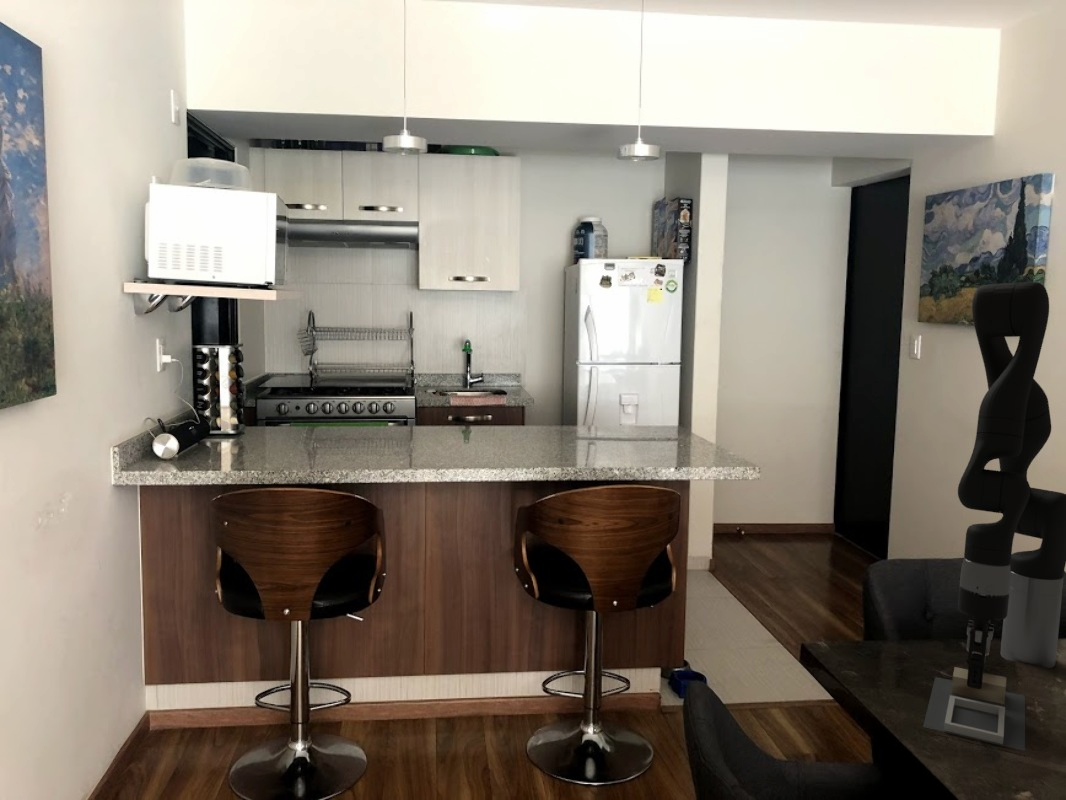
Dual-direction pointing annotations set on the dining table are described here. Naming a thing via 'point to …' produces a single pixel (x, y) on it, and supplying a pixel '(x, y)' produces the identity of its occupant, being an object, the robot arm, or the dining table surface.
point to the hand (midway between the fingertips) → (975, 678)
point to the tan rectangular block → (990, 689)
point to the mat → (977, 715)
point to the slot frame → (970, 730)
